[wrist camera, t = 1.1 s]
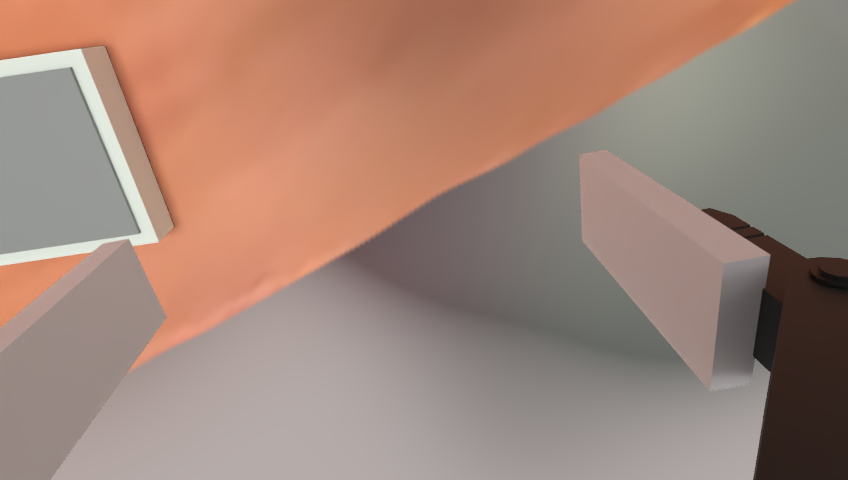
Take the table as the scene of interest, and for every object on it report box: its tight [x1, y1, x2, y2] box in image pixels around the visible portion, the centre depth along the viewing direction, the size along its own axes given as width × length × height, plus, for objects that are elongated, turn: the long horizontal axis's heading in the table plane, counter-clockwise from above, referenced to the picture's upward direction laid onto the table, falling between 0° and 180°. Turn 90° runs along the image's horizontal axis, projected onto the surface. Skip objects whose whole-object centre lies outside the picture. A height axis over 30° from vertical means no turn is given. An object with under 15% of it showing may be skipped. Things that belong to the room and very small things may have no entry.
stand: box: [0, 46, 174, 266], centre depth 36 cm, size 14×14×3 cm
